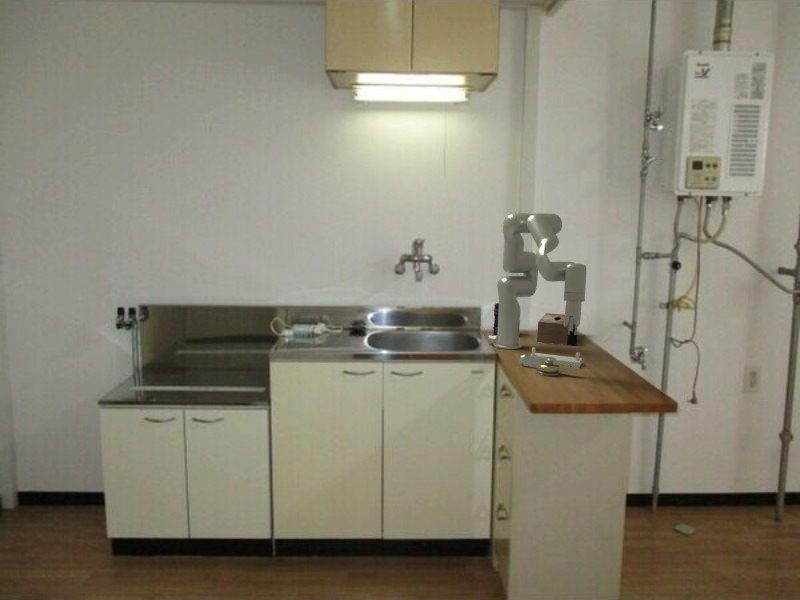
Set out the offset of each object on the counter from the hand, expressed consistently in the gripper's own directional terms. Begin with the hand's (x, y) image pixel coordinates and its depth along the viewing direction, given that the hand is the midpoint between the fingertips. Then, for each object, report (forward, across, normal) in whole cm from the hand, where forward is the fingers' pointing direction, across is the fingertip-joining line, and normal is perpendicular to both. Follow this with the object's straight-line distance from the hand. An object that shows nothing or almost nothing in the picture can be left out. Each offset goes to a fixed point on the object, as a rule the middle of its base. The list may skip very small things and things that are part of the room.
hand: (572, 344), depth 231 cm
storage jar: (+9, -57, -40) cm, 70 cm away
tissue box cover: (+10, -61, -15) cm, 64 cm away
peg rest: (+10, -14, -8) cm, 19 cm away
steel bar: (+11, -3, -13) cm, 17 cm away
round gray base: (+11, +4, -8) cm, 14 cm away
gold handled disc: (+10, +4, -4) cm, 11 cm away
